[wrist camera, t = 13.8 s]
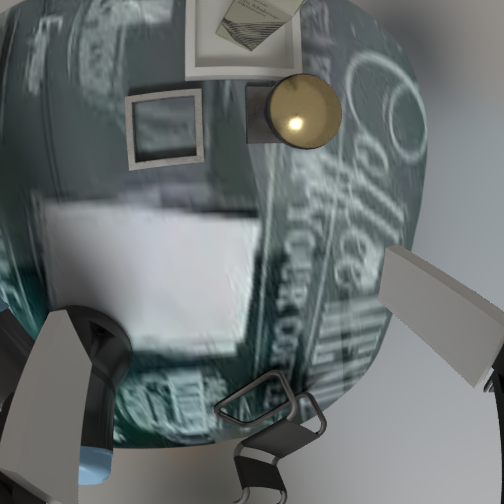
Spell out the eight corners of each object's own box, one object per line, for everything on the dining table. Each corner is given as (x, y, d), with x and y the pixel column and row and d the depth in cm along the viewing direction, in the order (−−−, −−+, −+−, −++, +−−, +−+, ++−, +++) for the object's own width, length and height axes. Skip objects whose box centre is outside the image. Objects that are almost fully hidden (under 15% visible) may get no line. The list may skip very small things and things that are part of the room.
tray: (184, 81, 28) (185, 76, 25) (186, -9, 22) (187, -19, 20) (292, 81, 30) (302, 78, 28) (288, -3, 25) (297, -12, 22)
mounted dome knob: (244, 145, 33) (270, 150, 24) (243, 85, 29) (268, 69, 21) (302, 144, 34) (343, 151, 25) (301, 88, 31) (342, 77, 22)
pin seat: (131, 168, 30) (129, 170, 29) (127, 98, 27) (124, 96, 25) (202, 160, 32) (204, 161, 31) (200, 90, 29) (201, 88, 27)
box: (213, 35, 25) (235, -14, 14) (231, 9, 24) (261, -43, 13) (253, 54, 28) (295, 17, 16) (269, 28, 26) (316, -14, 15)
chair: (205, 408, 49) (228, 508, 30) (277, 363, 48) (327, 466, 29) (245, 427, 55) (273, 510, 36) (309, 388, 54) (355, 472, 35)
